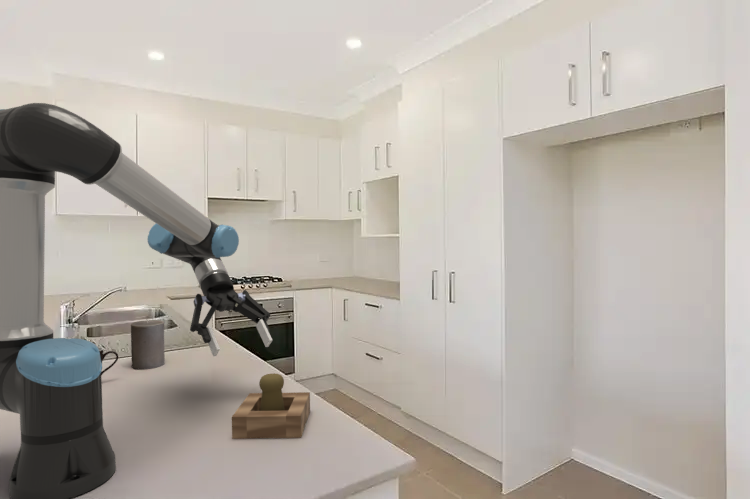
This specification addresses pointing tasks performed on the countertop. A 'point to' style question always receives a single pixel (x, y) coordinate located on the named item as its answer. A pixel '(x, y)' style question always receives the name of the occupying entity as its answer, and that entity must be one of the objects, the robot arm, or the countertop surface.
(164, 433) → the countertop surface
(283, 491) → the countertop surface
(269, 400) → the cork
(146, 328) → the pillar candle
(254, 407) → the socket block
